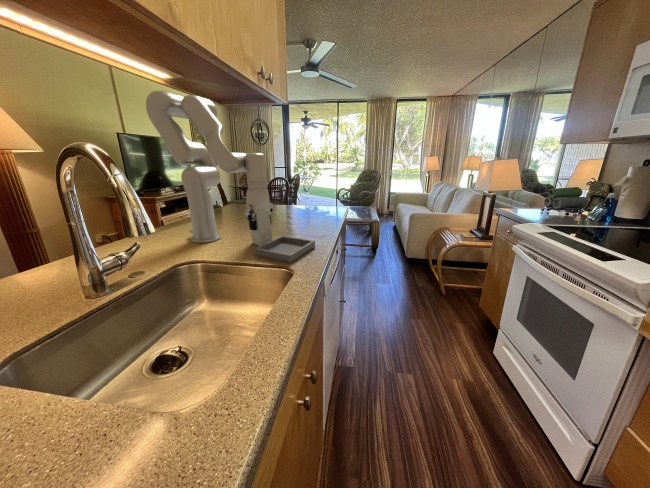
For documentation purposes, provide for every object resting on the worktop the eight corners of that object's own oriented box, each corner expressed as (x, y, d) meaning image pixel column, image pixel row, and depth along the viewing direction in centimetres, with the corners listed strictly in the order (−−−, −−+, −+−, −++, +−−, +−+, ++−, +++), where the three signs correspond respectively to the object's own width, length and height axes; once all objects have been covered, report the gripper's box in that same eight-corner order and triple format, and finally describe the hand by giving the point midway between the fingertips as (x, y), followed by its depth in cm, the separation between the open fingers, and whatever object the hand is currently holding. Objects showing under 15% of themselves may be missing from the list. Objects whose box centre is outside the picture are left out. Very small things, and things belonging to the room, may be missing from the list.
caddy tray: (255, 256, 99) (254, 248, 98) (282, 242, 115) (282, 235, 114) (290, 263, 93) (290, 255, 92) (315, 247, 108) (315, 240, 107)
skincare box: (273, 244, 112) (270, 210, 107) (260, 247, 108) (257, 212, 103) (263, 240, 118) (260, 207, 113) (251, 242, 114) (247, 209, 109)
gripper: (263, 183, 114) (266, 221, 120) (234, 187, 99) (239, 231, 105) (278, 183, 111) (280, 223, 117) (250, 188, 96) (254, 233, 102)
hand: (261, 227), depth 111 cm, fingers open, 9 cm apart
